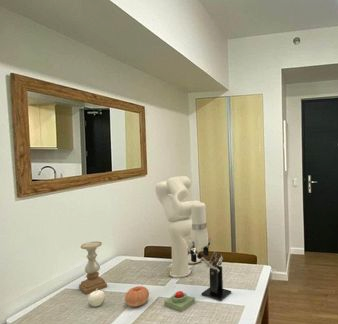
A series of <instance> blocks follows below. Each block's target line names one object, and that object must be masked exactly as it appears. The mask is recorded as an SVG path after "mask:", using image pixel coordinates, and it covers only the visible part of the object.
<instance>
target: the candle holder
mask: <svg viewBox="0 0 338 324" xmlns="http://www.w3.org/2000/svg"><path fill="white" fill-rule="evenodd" d="M102 245H103V242H102V241H98V240H96V241H89V242H88V241H87V242H85V243H82V244H81V245H80V248H81V249H82V250H86V251H87V255H86V256H85V257H86V259H87V260H88V262H87V263H86V265H85V267H84V273H86V275H85V277H86V279H84V280H82V281H81V282H80V283H79V285H78V289H79V290H80V291H81V292H82V293H83V294H84V295H89V294H91V293H92V292H93V291H96V289H97V288H98V289H97V290H102V289H105V288H107V287H108V283H107V282H106V281H105V280H104V279H103V277H101V276H100V273H99V270H100V268H101V265H100V263H98V261H97V260H96V259H97V257H98V254H97V252H96V250H98V248H100V247H101V246H102Z"/></svg>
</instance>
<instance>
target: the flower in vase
mask: <svg viewBox="0 0 338 324" xmlns="http://www.w3.org/2000/svg"><path fill="white" fill-rule="evenodd" d="M188 238H189V239H190V236H188ZM188 243H189V244H190V240H189V241H188ZM194 251H195V250H193V252H194ZM197 254H198V253H197V252H196V257H197ZM201 261H202V259H198V258H197V262H192V261H191V254H190V253H188V264H197V263H200V262H201Z"/></svg>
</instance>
